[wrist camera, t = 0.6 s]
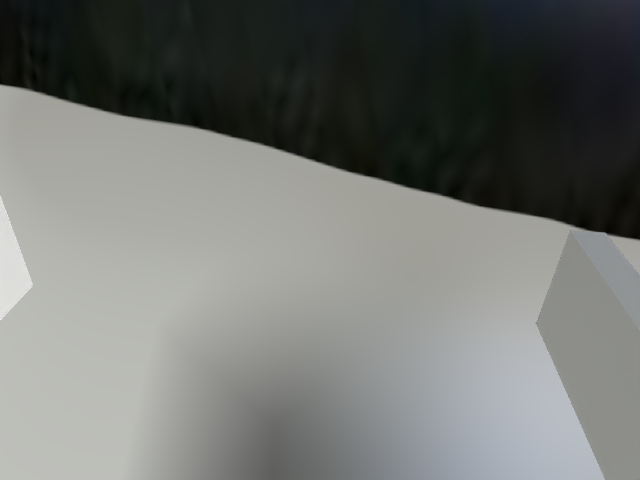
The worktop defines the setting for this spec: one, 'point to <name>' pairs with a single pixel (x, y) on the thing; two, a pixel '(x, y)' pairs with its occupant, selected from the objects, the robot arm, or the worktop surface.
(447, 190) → the worktop surface
